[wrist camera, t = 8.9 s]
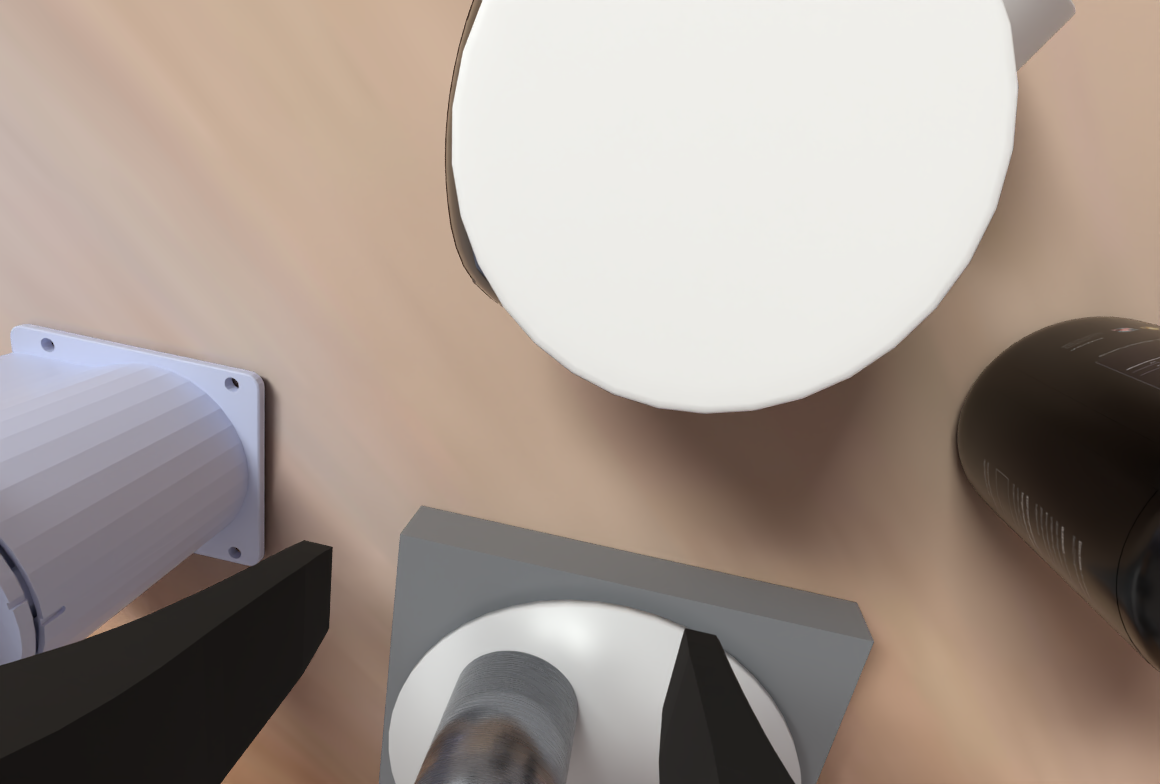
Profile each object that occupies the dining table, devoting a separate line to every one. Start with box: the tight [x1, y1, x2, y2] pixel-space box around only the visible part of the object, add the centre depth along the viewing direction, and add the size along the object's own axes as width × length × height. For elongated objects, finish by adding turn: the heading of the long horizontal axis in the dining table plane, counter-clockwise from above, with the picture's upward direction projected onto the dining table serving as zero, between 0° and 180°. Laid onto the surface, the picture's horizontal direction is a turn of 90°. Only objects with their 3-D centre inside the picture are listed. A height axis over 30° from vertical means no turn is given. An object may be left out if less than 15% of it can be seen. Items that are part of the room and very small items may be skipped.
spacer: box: [414, 651, 578, 784], centre depth 20 cm, size 4×4×6 cm
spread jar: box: [445, 0, 1075, 414], centre depth 13 cm, size 12×11×12 cm
